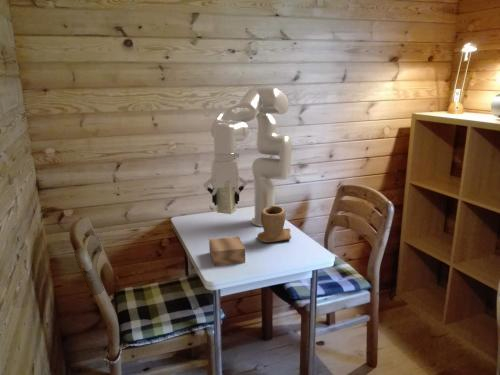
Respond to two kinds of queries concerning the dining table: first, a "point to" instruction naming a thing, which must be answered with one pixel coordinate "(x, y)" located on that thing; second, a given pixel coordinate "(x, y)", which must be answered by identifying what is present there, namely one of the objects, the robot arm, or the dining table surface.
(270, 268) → the dining table surface
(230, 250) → the walnut block
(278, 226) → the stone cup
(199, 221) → the dining table surface
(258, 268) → the dining table surface
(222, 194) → the skincare box
